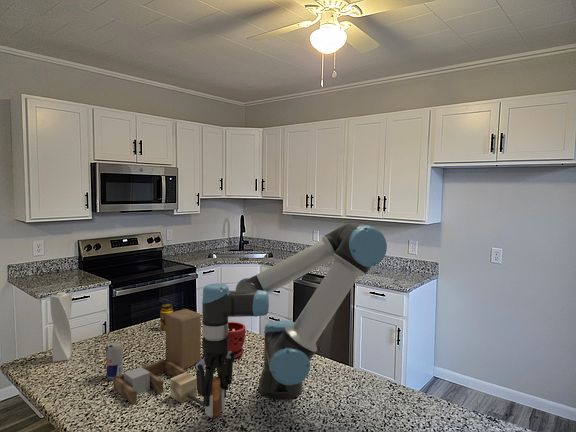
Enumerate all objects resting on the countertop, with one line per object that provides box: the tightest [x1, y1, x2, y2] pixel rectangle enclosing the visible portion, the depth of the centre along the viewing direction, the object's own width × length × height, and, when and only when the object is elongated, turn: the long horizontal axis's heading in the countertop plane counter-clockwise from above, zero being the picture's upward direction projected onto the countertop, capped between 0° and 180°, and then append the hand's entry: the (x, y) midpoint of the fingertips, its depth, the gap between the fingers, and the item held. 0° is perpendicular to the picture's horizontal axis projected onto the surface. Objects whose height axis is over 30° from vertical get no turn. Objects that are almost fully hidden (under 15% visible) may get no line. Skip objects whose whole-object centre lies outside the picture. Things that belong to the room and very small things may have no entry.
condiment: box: [156, 303, 174, 333], centre depth 186 cm, size 7×8×12 cm
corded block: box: [169, 371, 221, 419], centre depth 122 cm, size 20×6×11 cm, turn 50°
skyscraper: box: [47, 287, 74, 364], centre depth 151 cm, size 8×8×28 cm
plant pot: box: [227, 321, 246, 359], centre depth 159 cm, size 13×13×12 cm
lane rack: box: [113, 358, 188, 406], centre depth 133 cm, size 14×20×4 cm
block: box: [123, 366, 151, 395], centre depth 130 cm, size 6×6×6 cm
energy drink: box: [105, 341, 124, 381], centre depth 138 cm, size 5×5×12 cm
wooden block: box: [165, 308, 202, 370], centre depth 150 cm, size 10×10×20 cm
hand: (214, 412), depth 116 cm, fingers closed on corded block, 3 cm apart
